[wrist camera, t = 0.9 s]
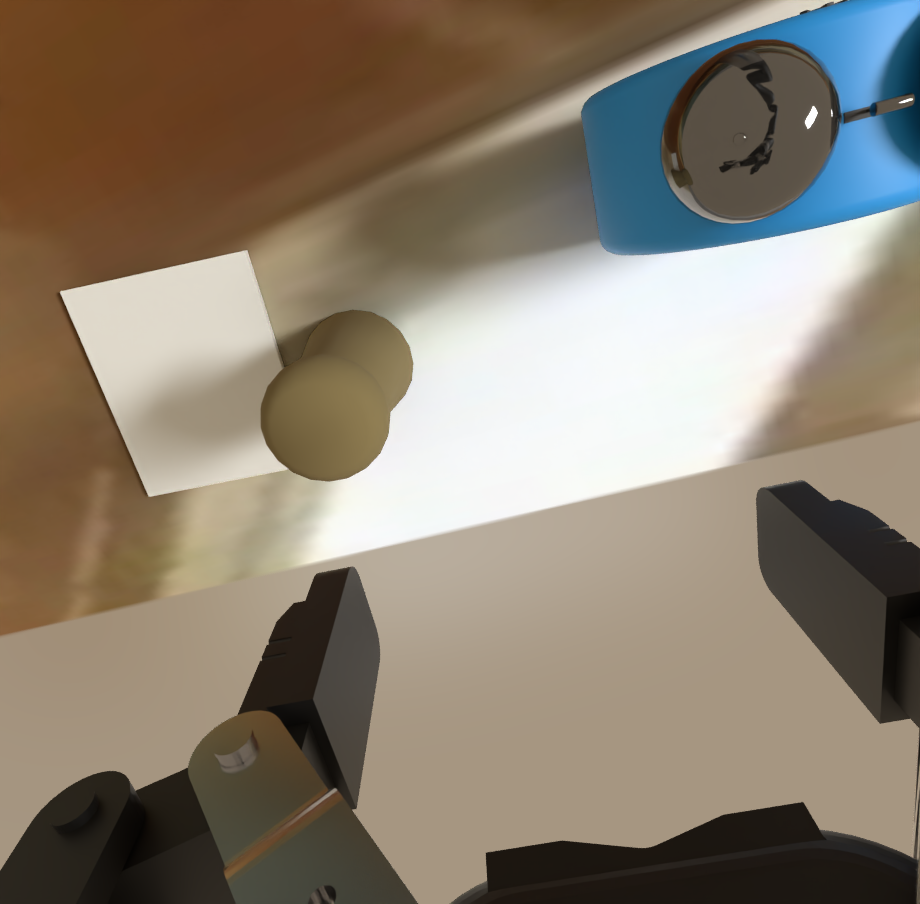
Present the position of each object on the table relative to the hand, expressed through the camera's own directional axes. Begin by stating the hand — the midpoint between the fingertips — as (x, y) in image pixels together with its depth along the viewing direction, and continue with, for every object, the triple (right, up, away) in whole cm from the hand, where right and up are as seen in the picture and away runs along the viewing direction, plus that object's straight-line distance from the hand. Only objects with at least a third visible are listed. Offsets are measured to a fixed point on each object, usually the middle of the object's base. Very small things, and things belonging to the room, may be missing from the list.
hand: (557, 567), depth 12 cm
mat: (-16, +6, +22) cm, 28 cm away
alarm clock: (+10, +17, +18) cm, 27 cm away
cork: (-7, +7, +22) cm, 24 cm away
